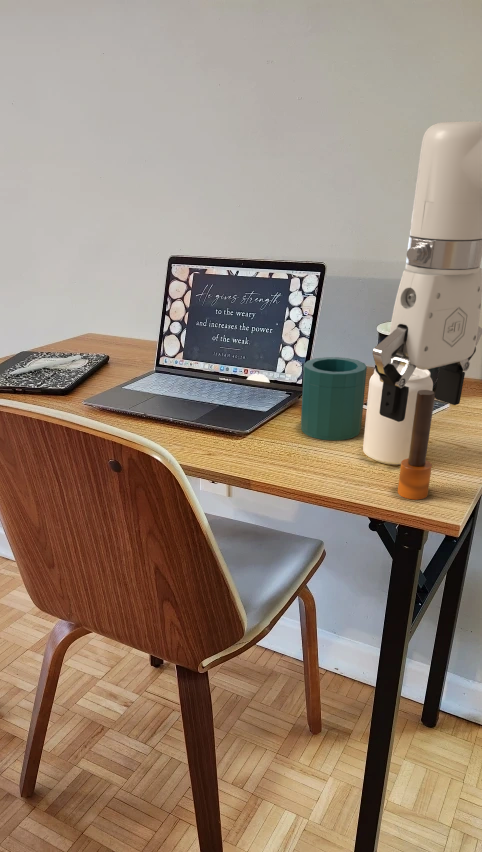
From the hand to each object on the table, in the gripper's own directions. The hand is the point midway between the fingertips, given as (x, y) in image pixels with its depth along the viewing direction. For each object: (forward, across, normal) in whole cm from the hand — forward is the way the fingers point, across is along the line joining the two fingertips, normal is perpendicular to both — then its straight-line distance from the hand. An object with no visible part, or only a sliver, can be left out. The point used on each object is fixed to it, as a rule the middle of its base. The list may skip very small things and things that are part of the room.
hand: (419, 409), depth 80 cm
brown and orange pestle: (+11, 0, 0) cm, 11 cm away
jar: (+11, +8, +21) cm, 25 cm away
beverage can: (+11, +8, +9) cm, 16 cm away
